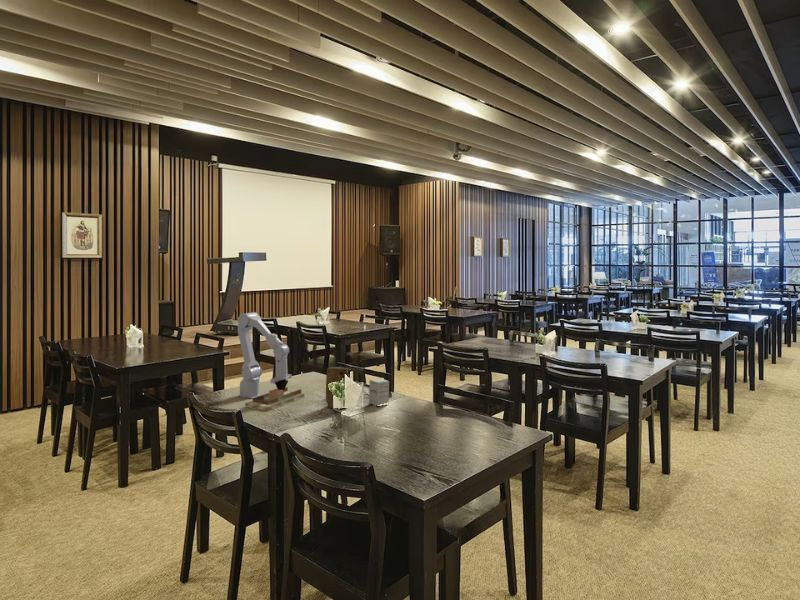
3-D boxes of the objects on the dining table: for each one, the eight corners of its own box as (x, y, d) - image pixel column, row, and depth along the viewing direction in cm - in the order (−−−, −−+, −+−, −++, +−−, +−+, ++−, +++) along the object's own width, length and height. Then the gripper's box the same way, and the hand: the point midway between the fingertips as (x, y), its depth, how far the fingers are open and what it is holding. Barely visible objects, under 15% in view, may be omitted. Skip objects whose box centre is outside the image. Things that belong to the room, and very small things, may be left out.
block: (324, 407, 251) (324, 367, 250) (333, 404, 257) (334, 364, 256) (341, 411, 245) (342, 370, 244) (351, 407, 252) (351, 367, 250)
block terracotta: (269, 398, 257) (269, 390, 257) (275, 396, 261) (275, 388, 261) (277, 400, 255) (277, 392, 254) (283, 397, 259) (283, 390, 259)
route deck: (245, 407, 248) (245, 398, 248) (283, 393, 274) (283, 386, 274) (267, 411, 242) (268, 402, 242) (304, 397, 268) (304, 390, 268)
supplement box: (368, 404, 259) (369, 379, 258) (379, 401, 264) (380, 377, 263) (377, 407, 253) (378, 382, 252) (388, 405, 258) (389, 380, 257)
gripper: (278, 371, 252) (278, 398, 253) (296, 366, 265) (296, 392, 266) (267, 370, 255) (267, 396, 256) (285, 365, 268) (285, 390, 269)
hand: (281, 394), depth 262 cm, fingers closed
